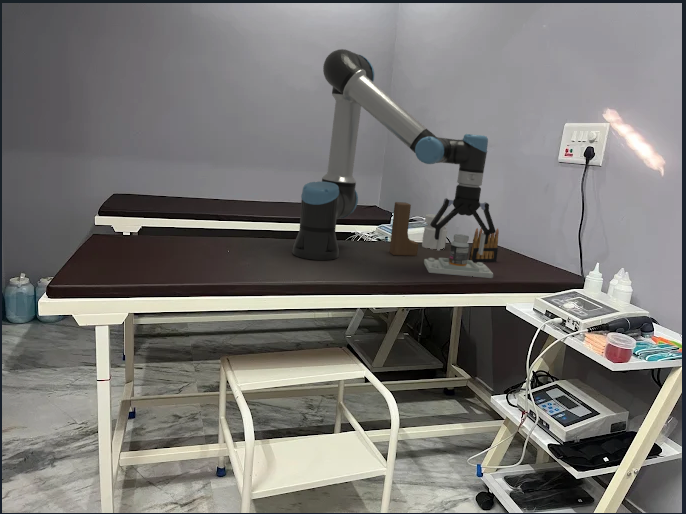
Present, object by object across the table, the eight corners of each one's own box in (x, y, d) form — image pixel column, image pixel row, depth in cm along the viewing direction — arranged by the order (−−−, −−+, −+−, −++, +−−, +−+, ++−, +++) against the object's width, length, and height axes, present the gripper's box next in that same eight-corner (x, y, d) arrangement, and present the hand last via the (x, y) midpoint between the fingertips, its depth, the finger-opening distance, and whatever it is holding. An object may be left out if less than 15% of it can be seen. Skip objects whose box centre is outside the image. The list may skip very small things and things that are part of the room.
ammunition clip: (493, 260, 198) (498, 227, 195) (496, 261, 196) (501, 228, 193) (468, 261, 193) (473, 227, 191) (471, 262, 192) (476, 228, 189)
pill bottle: (446, 263, 180) (450, 233, 178) (463, 264, 181) (467, 234, 178) (450, 267, 175) (455, 237, 172) (468, 268, 175) (472, 238, 173)
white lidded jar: (417, 244, 213) (421, 214, 210) (435, 244, 217) (439, 214, 214) (430, 250, 206) (434, 218, 203) (449, 249, 210) (453, 218, 207)
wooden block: (412, 253, 198) (418, 203, 194) (417, 256, 194) (423, 205, 190) (388, 252, 196) (394, 201, 192) (393, 255, 192) (398, 203, 187)
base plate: (428, 272, 172) (429, 264, 172) (423, 263, 184) (424, 255, 184) (492, 278, 172) (493, 270, 172) (483, 268, 184) (485, 261, 184)
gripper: (430, 182, 168) (421, 250, 173) (512, 190, 168) (501, 258, 173) (427, 180, 176) (418, 245, 181) (505, 188, 176) (495, 253, 181)
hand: (459, 252), depth 177 cm, fingers open, 13 cm apart
